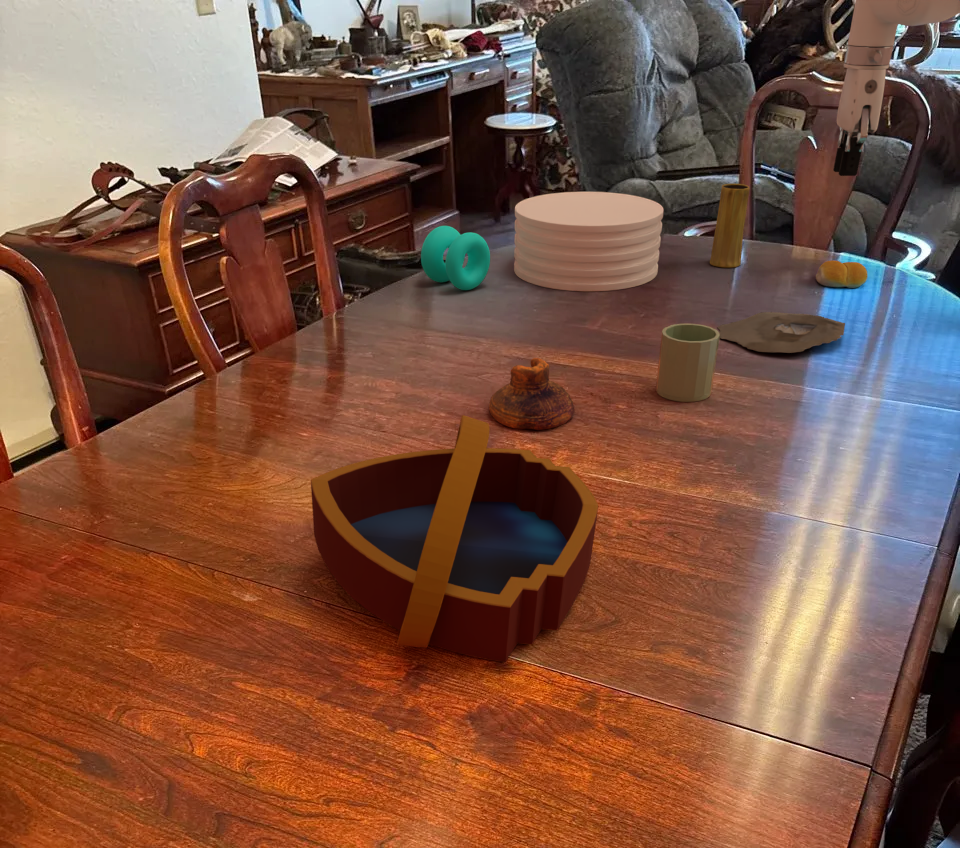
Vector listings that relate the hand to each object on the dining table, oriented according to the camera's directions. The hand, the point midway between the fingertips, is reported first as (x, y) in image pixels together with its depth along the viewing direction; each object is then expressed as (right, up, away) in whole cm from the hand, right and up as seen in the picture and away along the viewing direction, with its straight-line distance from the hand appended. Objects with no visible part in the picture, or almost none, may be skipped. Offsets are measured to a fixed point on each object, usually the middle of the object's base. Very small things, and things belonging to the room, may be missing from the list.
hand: (844, 172), depth 176 cm
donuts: (-72, -20, +4) cm, 75 cm away
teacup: (-38, -51, -39) cm, 75 cm away
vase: (-19, -12, +14) cm, 26 cm away
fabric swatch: (-19, -37, -20) cm, 46 cm away
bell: (-60, -56, -45) cm, 94 cm away
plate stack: (-47, -14, +11) cm, 50 cm away
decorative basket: (-70, -79, -77) cm, 131 cm away
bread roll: (0, -20, +3) cm, 20 cm away
